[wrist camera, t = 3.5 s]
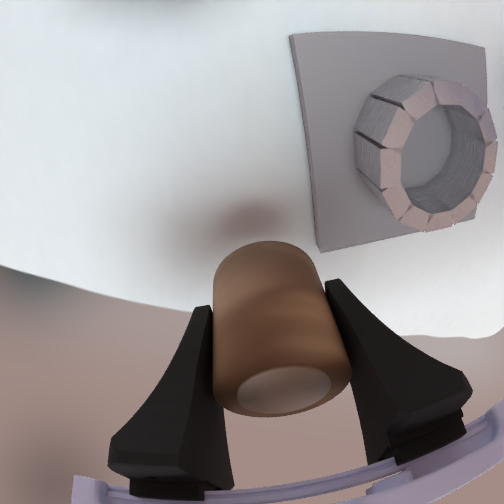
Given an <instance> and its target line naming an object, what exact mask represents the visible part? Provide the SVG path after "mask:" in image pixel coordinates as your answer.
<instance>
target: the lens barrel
mask: <svg viewBox="0 0 504 504" xmlns="http://www.w3.org/2000/svg"><path fill="white" fill-rule="evenodd" d="M398 75H399V76H396V75H395V76H394V77H392V78H391V79H389V80H388V81H386V82H385V83H383V84H382V85H381V86H379V87H378V88H376V89H375V90H373V91H372V92H371V93H370V94H371V96H372V97H373V98H371V97H368V96H367V98H366V100H365V103H364V105H363V107H362V110H361V112H360V114H359V116H358V119H357V121H356V123H355V125H354V128H355V129H357V130H358V131H355V132H353V142H354V159H355V166H356V167H357V168H356V169H357V171H358V172H359V174H360V176H361V177H362V179H363V180H364V182H365V183H366V185H367V186H368V188H369V189H370V191H371V193H372V194H373V195H374V196H375V197H376V198H377V199H378V200H379V201H380V202H381V203H382V204H383V205H384V206H385V207H386V209H387V210H388V211H389V212H390V213H391V214H392V215H393V216H394V217H395V218H396V219H397V220H398V221H399V222H400V223H403V224H405V225H407V226H410V227H412V228H415V229H417V230H419V231H422V232H424V230H425V232H430V231H434V230H438V229H443V228H447V227H451V226H452V223H453V224H454V225H455V224H456V223H457V222H459V221H460V220H461V219H462V218H463V217H465V216H466V215H467V214H468V213H469V212H470V211H472V210H473V209H474V208H475V207H476V203H475V201H476V202H477V203H479V202H480V200H481V198H482V196H483V195H484V193H485V191H486V189H487V187H488V185H489V183H490V181H491V179H492V177H493V176H492V175H491V174H490V173H494V169H495V162H496V153H497V143H498V141H496V140H495V139H497V135H496V131H495V128H494V124H493V121H492V118H491V114H490V111H489V108H486V106H487V105H486V104H485V103H484V102H483V101H482V100H481V99H480V98H479V97H478V96H477V95H476V94H475V93H474V92H473V91H472V90H471V89H469V88H468V87H467V86H466V85H463V84H462V83H458V82H454V81H450V80H445V79H441V78H436V77H432V76H427V75H404V74H398ZM437 104H440V105H441V106H442V107H443V109H444V111H445V113H446V116H447V118H448V120H449V123H450V125H451V128H452V132H451V152H450V154H449V156H448V158H447V160H446V162H445V164H444V166H443V168H442V170H441V172H440V173H439V174H437V175H436V176H435V177H434V178H432V179H431V180H430V181H429V182H427V183H426V184H425V185H423V186H418V187H411V188H405V189H404V188H403V186H402V184H401V150H402V148H403V146H404V144H405V142H406V140H407V138H408V136H409V133H410V131H411V129H412V127H413V125H414V123H415V121H416V120H417V119H419V118H420V117H421V116H423V115H424V114H425V113H427V112H428V111H429V110H431V109H432V108H433V107H435V106H436V105H437Z"/></svg>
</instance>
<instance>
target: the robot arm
mask: <svg viewBox="0 0 504 504" xmlns="http://www.w3.org/2000/svg"><path fill="white" fill-rule="evenodd" d="M325 294H326V297H327V299H328V302H329V305H330V308H331V310H332V313H333V316H334V318H335V321H336V324H337V327H338V329H339V332H340V335H341V338H342V341H343V343H344V346H345V349H346V352H347V355H348V358H349V361H350V364H351V367H352V377H351V380H350V384H351V387H352V391H353V395H354V399H355V402H356V407H357V411H358V415H359V419H360V425H361V429H362V434H363V439H364V445H365V451H366V456H367V463H368V465H367V466H364V467H361V468H357V469H354V470H350V471H346V472H343V473H339V474H335V475H331V476H326V477H322V478H317V479H313V480H307V481H302V482H296V483H290V484H284V485H277V486H270V487H262V488H253V489H241V490H231V489H232V488H233V487H234V480H233V475H232V470H231V465H230V458H229V452H228V445H227V437H226V430H225V419H224V410H223V407H222V406H221V405H220V404H219V403H218V402H217V401H216V400H215V398H214V395H213V312H212V310H211V307H210V305H205V306H200V307H195V309H194V311H193V313H192V316H191V319H190V321H189V324H188V326H187V329H186V331H185V333H184V336H183V338H182V340H181V342H180V344H179V347H178V349H177V351H176V353H175V355H174V357H173V359H172V360H171V363H170V364H169V366H168V368H167V370H166V371H165V373H164V375H163V377H162V378H161V380H160V381H159V383H158V384H157V386H156V387H155V389H154V390H153V392H152V393H151V394H150V396H149V397H148V399H147V400H146V401H145V403H144V404H143V405H142V406H141V407H140V409H139V410H138V411H137V412H136V413H135V414H134V416H133V417H132V418H131V419H130V420H129V421H128V422H127V423H126V424H125V425H124V426H123V427H122V428H121V429H120V430H119V431H118V432H117V433H116V434H115V435H114V436H113V437H112V438H111V442H110V448H109V456H108V467H109V468H110V469H111V470H112V471H114V472H116V473H118V474H120V475H123V476H125V477H127V478H129V479H130V487H124V486H117V485H109V484H107V483H105V482H103V481H100V480H97V479H93V478H88V477H83V476H78V475H75V476H74V483H73V491H72V501H71V504H266V503H274V502H282V501H288V500H295V499H301V498H306V497H311V496H317V495H321V494H326V493H330V492H335V491H339V490H343V489H347V488H350V487H354V486H358V485H361V484H364V483H368V482H371V481H374V480H377V479H380V478H383V477H386V476H389V475H392V474H395V473H397V472H400V471H402V472H400V473H398V474H396V475H393V476H391V477H389V478H386V479H384V480H381V481H379V482H376V483H374V484H373V485H372V487H371V488H369V489H367V490H366V496H362V497H359V498H355V499H351V500H347V501H343V502H338V503H334V504H430V503H432V502H434V501H436V500H438V499H440V498H442V497H444V496H446V495H448V494H450V493H452V492H453V491H455V490H457V489H458V488H461V487H462V486H464V485H466V484H467V483H469V482H471V481H472V480H474V479H476V478H477V477H479V476H480V475H482V474H484V473H485V472H487V471H488V470H490V469H491V468H492V467H494V466H495V465H497V464H498V463H500V462H501V461H503V460H504V399H503V400H501V401H500V402H498V403H497V404H495V405H494V406H492V407H491V408H490V409H489V410H488V411H487V412H486V414H484V415H483V416H481V417H479V418H478V419H476V420H474V421H472V422H470V423H468V424H466V425H465V426H464V423H463V421H462V419H461V418H462V417H463V412H462V410H461V407H462V406H463V405H464V404H465V403H466V402H467V400H468V399H469V398H470V397H471V395H472V392H473V390H472V388H471V386H470V384H469V382H468V380H467V378H466V377H465V375H464V374H463V372H462V371H460V370H458V369H455V368H453V367H451V366H448V365H446V364H444V363H442V362H440V361H438V360H436V359H434V358H432V357H430V356H429V355H427V354H425V353H424V352H422V351H420V350H419V349H417V348H416V347H414V346H412V345H411V344H409V343H408V342H406V341H405V340H403V339H402V338H401V337H400V336H398V335H397V334H396V333H394V332H393V331H392V330H391V329H389V328H388V327H387V326H386V325H385V324H384V323H382V322H381V321H380V320H379V319H378V318H377V317H376V316H375V315H374V314H372V313H371V312H370V311H369V310H368V309H367V308H366V307H365V306H364V305H363V304H362V303H361V302H360V301H359V300H358V299H357V297H356V296H355V295H354V294H353V293H352V292H351V291H350V290H349V289H348V288H347V286H346V285H345V284H344V283H343V282H342V280H340V279H334V280H330V281H325Z"/></svg>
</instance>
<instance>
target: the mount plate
mask: <svg viewBox="0 0 504 504" xmlns="http://www.w3.org/2000/svg"><path fill="white" fill-rule="evenodd" d="M289 39H290V44H291V49H292V54H293V60H294V65H295V71H296V77H297V82H298V89H299V95H300V101H301V108H302V114H303V121H304V128H305V136H306V143H307V151H308V159H309V167H310V176H311V185H312V195H313V205H314V215H315V227H316V239H317V246H318V248H319V251H320V253H324V252H329V251H333V250H338V249H343V248H347V247H352V246H356V245H361V244H366V243H370V242H375V241H379V240H384V239H388V238H393V237H397V236H402V235H406V234H411V233H415V232H420V231H419V230H417V229H415V228H412V227H410V226H407V225H405V224H403V223H400V222H399V221H398V220H397V219H396V218H395V217H394V216H393V215H392V214H391V213H390V212H389V211H388V210H387V209H386V207H385V206H384V205H383V204H382V203H381V202H380V201H379V200H378V199H377V198H376V197H375V196H374V195H373V194H372V193H371V191H370V189H369V188H368V186H367V185H366V183H365V182H364V180H363V179H362V177H361V176H360V174H359V172H358V171H357V169H356V168H357V167H356V166H355V159H354V142H353V132H355V131H358V130H357V129H355V128H354V125H355V123H356V121H357V119H358V116H359V114H360V112H361V110H362V107H363V105H364V103H365V100H366V98H367V96H368V97H371V98H373V97H372V96H371V94H370V93H371V92H372V91H373V90H375V89H376V88H378V87H379V86H381V85H382V84H383V83H385V82H386V81H388V80H389V79H391V78H392V77H394V76H395V75H396V76H399V75H398V74H404V75H427V76H432V77H436V78H441V79H445V80H450V81H454V82H458V83H462V84H463V85H466V86H467V87H468V88H469V89H471V90H472V91H473V92H474V93H475V94H476V95H477V96H478V97H479V98H480V99H481V100H482V101H483V102H484V103H485V104H486V105H487V73H486V57H485V48H483V47H479V46H475V45H471V44H466V43H461V42H456V41H451V40H446V39H439V38H433V37H426V36H418V35H409V34H398V33H384V32H316V33H301V34H292V35H290V36H289ZM486 108H487V106H486ZM451 132H452V128H451V125H450V123H449V120H448V118H447V116H446V113H445V111H444V109H443V107H442V106H441V105H440V104H437V105H436V106H435V107H433V108H432V109H431V110H429V111H428V112H427V113H425V114H424V115H423V116H421V117H420V118H419V119H417V120H416V121H415V123H414V125H413V127H412V129H411V131H410V133H409V136H408V138H407V140H406V142H405V144H404V146H403V148H402V150H401V184H402V186H403V188H404V189H405V188H411V187H418V186H423V185H425V184H426V183H427V182H429V181H430V180H431V179H432V178H434V177H435V176H436V175H437V174H439V173H440V172H441V170H442V168H443V166H444V164H445V162H446V160H447V158H448V156H449V154H450V152H451ZM475 203H476V207H477V202H476V201H475ZM476 207H475V208H474V209H473V210H472V211H470V212H469V213H468V214H467V215H466V216H465V217H463V218H462V219H461V220H460V221H459V222H463V221H467V220H471V219H474V217H475V212H476ZM459 222H457V223H459ZM452 224H453V223H452Z"/></svg>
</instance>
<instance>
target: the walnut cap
mask: <svg viewBox="0 0 504 504" xmlns="http://www.w3.org/2000/svg"><path fill="white" fill-rule="evenodd" d="M351 377H352V367H351V364H350V361H349V358H348V355H347V352H346V349H345V346H344V343H343V341H342V338H341V335H340V332H339V329H338V327H337V324H336V321H335V318H334V316H333V313H332V310H331V308H330V305H329V302H328V299H327V297H326V294H325V292H324V289H323V286H322V284H321V281H320V279H319V276H318V273H317V271H316V268H315V266H314V263H313V262H312V260H311V259H310V257H309V256H308V255H307V254H306V253H305V252H304V251H302V250H301V249H299V248H298V247H296V246H293V245H291V244H288V243H284V242H278V241H262V242H256V243H252V244H249V245H246V246H243V247H241V248H239V249H237V250H235V251H234V252H233V253H231V254H230V255H229V256H227V257H226V258H225V259H224V260H223V261H222V263H221V264H220V265H219V267H218V269H217V271H216V273H215V276H214V282H213V395H214V398H215V400H216V401H217V402H218V403H219V404H220V405H221V406H222V407H224V408H225V409H227V410H229V411H231V412H234V413H237V414H241V415H245V416H252V417H280V416H287V415H292V414H297V413H301V412H304V411H307V410H310V409H313V408H315V407H318V406H320V405H322V404H324V403H326V402H328V401H329V400H331V399H333V398H334V397H335V396H337V395H338V394H339V393H340V392H342V390H344V388H345V387H346V386H347V385H348V383H349V382H350V380H351Z"/></svg>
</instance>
